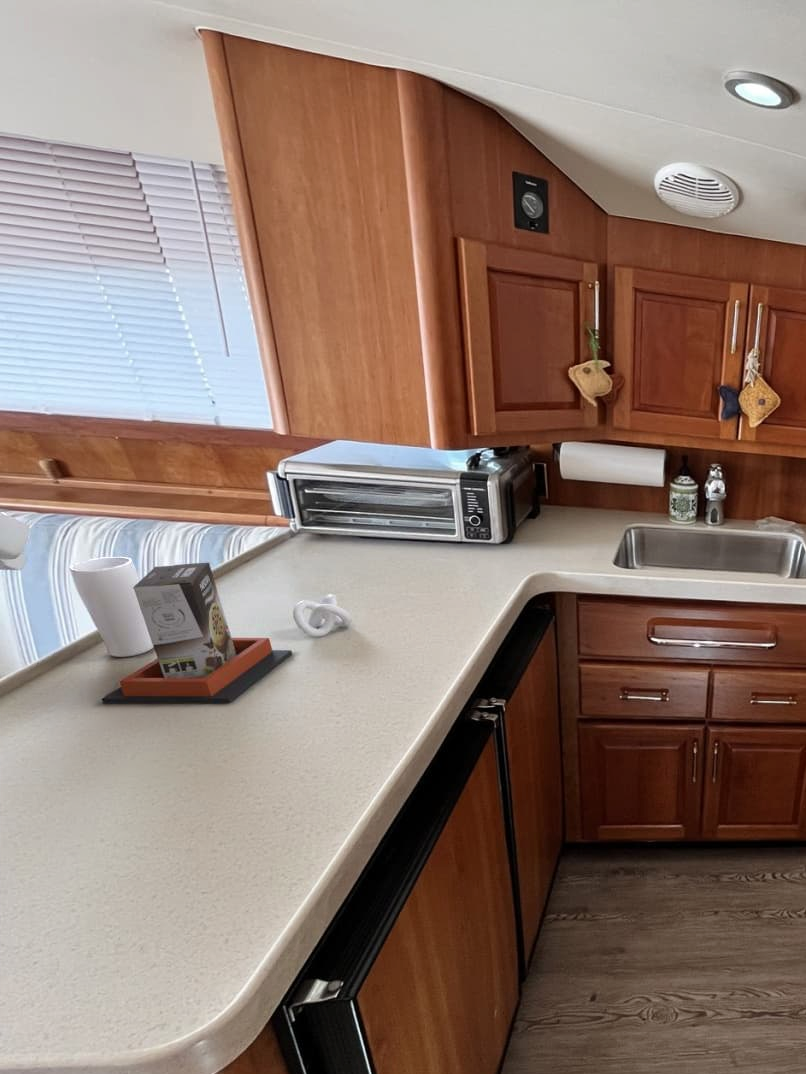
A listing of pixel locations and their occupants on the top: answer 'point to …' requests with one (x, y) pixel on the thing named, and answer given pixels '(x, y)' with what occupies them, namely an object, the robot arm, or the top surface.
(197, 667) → the coffee box
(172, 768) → the top surface
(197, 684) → the dock pad
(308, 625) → the knot
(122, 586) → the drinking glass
